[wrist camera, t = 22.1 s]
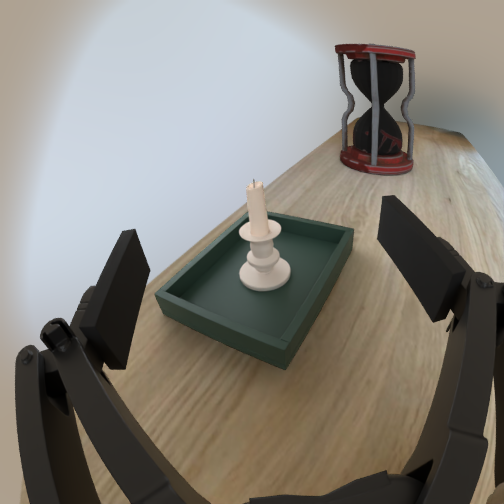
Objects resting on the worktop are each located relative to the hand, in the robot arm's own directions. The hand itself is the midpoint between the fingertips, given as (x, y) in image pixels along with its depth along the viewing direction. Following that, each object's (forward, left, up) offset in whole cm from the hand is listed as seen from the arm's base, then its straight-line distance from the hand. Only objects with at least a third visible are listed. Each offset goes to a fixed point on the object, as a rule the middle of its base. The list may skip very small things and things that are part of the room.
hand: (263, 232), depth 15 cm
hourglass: (+24, +45, -13) cm, 52 cm away
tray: (-1, +11, -12) cm, 16 cm away
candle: (-1, +11, -12) cm, 16 cm away
